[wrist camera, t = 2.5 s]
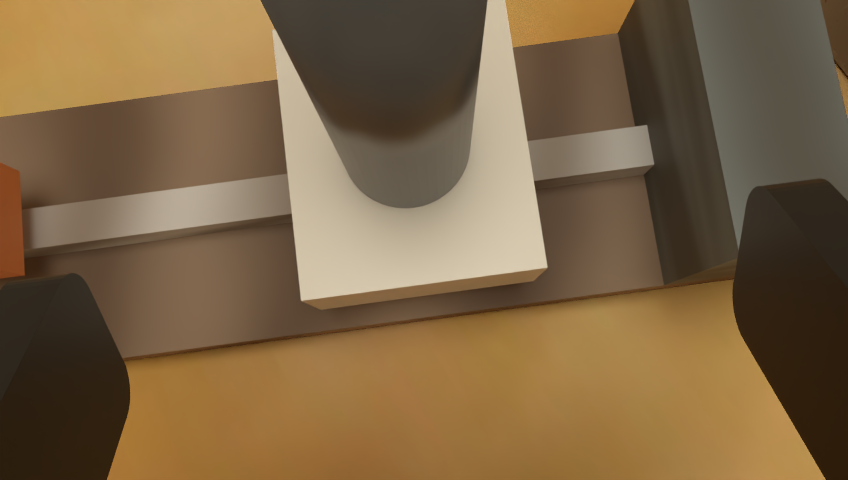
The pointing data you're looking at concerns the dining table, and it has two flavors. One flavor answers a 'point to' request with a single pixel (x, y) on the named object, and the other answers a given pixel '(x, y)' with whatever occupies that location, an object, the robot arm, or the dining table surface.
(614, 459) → the dining table surface
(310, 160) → the carriage
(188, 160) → the rail board
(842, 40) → the thermos bottle
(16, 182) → the reset pin
